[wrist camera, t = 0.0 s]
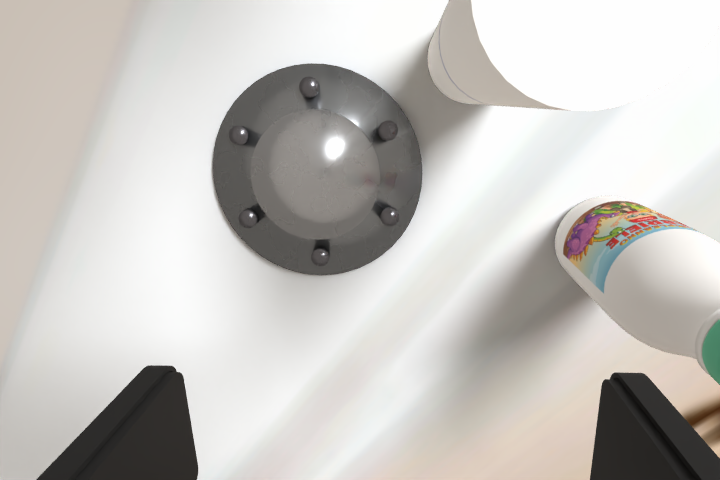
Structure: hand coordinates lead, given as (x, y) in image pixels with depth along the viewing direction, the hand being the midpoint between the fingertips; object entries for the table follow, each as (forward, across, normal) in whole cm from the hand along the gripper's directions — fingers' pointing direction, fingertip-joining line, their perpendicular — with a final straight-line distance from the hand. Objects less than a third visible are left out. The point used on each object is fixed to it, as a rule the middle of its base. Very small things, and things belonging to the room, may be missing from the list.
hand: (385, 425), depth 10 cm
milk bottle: (+31, -17, +5) cm, 36 cm away
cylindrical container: (+31, -6, -10) cm, 33 cm away
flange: (+31, +7, -1) cm, 32 cm away
